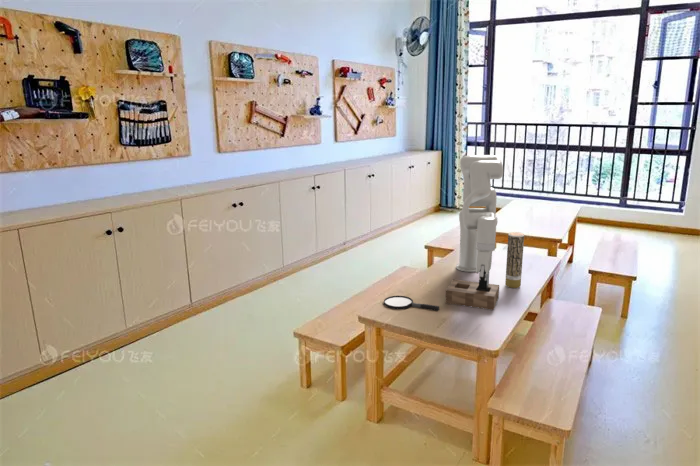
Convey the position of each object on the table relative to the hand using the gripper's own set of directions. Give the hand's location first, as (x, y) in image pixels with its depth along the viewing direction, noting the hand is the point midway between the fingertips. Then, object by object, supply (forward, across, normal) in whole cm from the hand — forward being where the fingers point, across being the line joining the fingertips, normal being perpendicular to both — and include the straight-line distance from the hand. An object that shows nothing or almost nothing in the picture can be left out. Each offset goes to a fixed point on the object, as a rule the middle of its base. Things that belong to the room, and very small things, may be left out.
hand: (483, 286), depth 206 cm
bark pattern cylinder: (+7, -24, +10) cm, 27 cm away
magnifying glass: (+8, +15, -27) cm, 32 cm away
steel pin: (+4, 0, 0) cm, 4 cm away
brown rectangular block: (+7, 0, -4) cm, 8 cm away
